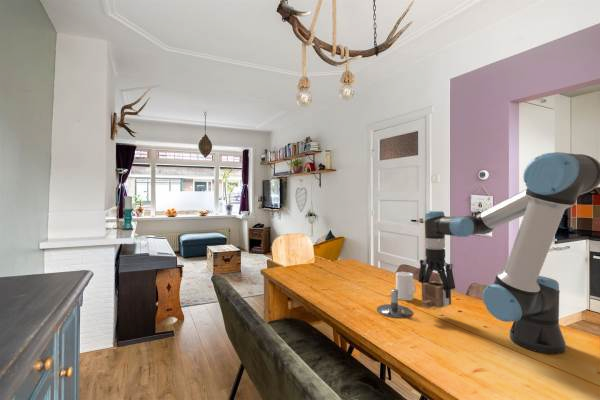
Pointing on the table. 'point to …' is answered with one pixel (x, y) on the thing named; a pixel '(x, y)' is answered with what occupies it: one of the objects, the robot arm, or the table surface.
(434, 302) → the collar
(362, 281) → the table surface
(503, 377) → the table surface
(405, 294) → the mug
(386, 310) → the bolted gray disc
